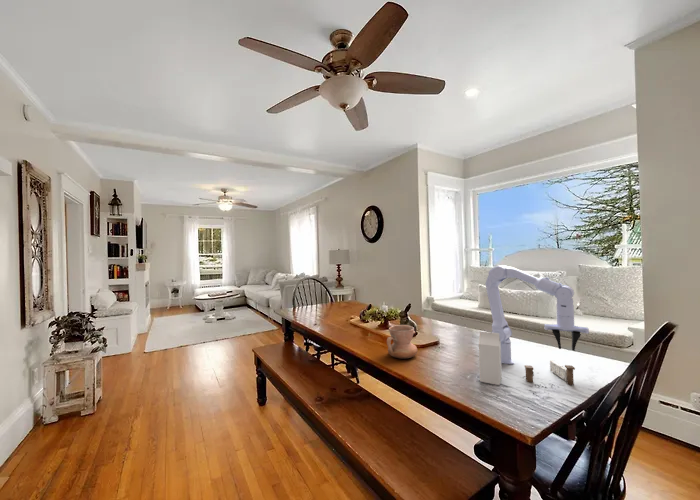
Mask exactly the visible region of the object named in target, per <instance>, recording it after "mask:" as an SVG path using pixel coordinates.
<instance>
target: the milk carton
mask: <svg viewBox="0 0 700 500" xmlns="http://www.w3.org/2000/svg"><path fill="white" fill-rule="evenodd" d="M478 364H479V365H478V367H479V368H478V369H479V382H481V383H485V384H493V385H496V386H500V385H501V382H502V378H503V377H502V376H503V374H502V373H503V372H502V363H501V342H500V337H499V333H492V331H491V332H490V331H489V332H488V331H479V337H478Z"/></svg>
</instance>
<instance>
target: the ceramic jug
mask: <svg viewBox="0 0 700 500" xmlns="http://www.w3.org/2000/svg"><path fill="white" fill-rule="evenodd" d="M388 332H389V335H390V336H388V337H387V339H386V345H387V353H388V354H389V355H390V356H391V357H393V358H395V359H400V360H401V359H403V360H405V359H411V358H413V357H415V356H416V355H417V354H418V348H417V345H415V344H413V343H412V339H413V337H414V334H416V331H415V327H413V326H411V325H410V324H396V325H392V326H390V327H389V328H388ZM392 341H393V342H392ZM391 343H392V344H391Z"/></svg>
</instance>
